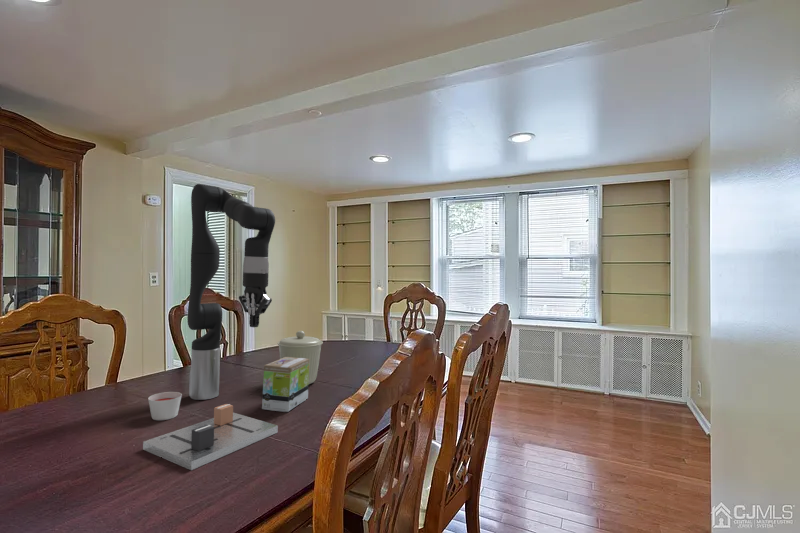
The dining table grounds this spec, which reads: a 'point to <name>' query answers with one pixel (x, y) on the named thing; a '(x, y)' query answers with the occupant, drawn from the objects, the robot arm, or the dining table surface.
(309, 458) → the dining table surface
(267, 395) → the tea box
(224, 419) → the fader terracotta
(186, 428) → the mixing board
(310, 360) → the canister
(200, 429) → the fader black
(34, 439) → the dining table surface
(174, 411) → the candle
